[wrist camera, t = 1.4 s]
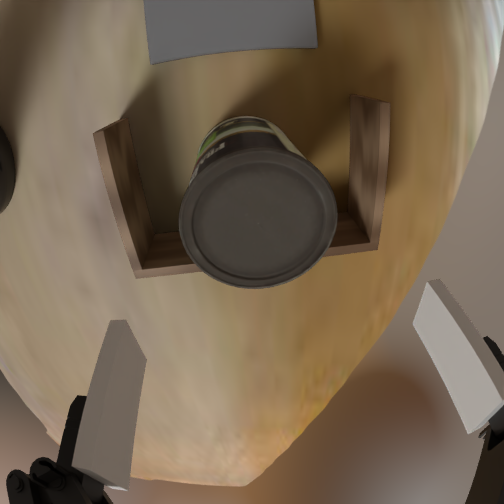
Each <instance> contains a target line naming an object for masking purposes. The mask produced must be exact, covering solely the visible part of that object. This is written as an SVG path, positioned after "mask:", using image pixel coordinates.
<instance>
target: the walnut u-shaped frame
mask: <svg viewBox="0 0 504 504" xmlns="http://www.w3.org/2000/svg"><path fill="white" fill-rule="evenodd" d="M389 135H390V103H389V102H385V101H381V100H377V99H373V98H369V97H365V96H361V95H350V170H349V193H348V210H347V212H344V213H337V214H338V217H337V226H336V231H335V234H334V237H333V240H332V242H331V244H330V246H329V248H328V250H327V251H326V253H325V254H324V255H323V257H326V256H334V255H342V254H350V253H357V252H365V251H373V250H378V244H379V238H380V231H381V224H382V216H383V208H384V199H385V190H386V179H387V168H388V154H389ZM93 137H94V141H95V146H96V150H97V154H98V158H99V162H100V166H101V170H102V174H103V178H104V182H105V185H106V189H107V192H108V196H109V199H110V203H111V206H112V209H113V213H114V216H115V219H116V222H117V226H118V229H119V232H120V235H121V238H122V241H123V244H124V247H125V250H126V253H127V255H128V258H129V261H130V264H131V267H132V269H133V272H134V275H135V277H136V279H138V278H147V277H156V276H165V275H175V274H184V273H193V272H201V271H202V270H201V269H200V268H198V267H197V266H196V264H195V263H194V262H193V261H192V260H191V258H190V257H189V255H188V254H187V252H186V250H185V248H184V246H183V243H182V240H181V237H180V231H176V232H169V233H161V234H155V233H154V230H153V226H152V222H151V219H150V215H149V211H148V207H147V203H146V199H145V195H144V191H143V187H142V183H141V179H140V174H139V170H138V165H137V161H136V156H135V152H134V147H133V142H132V137H131V132H130V127H129V121H128V118H125V119H121V120H118V121H116V122H114V123H112V124H110V125H108V126H106V127H104V128H102V129H100V130H98V131H96V132H95V133H93Z"/></svg>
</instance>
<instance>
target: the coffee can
mask: <svg viewBox="0 0 504 504" xmlns="http://www.w3.org/2000/svg"><path fill="white" fill-rule="evenodd" d="M337 217H338V214H337V204H336V200H335V196H334V193H333V191H332V189H331V186H330V184H329V183H328V181H327V180H326V178H325V177H324V175H323V174H322V173H321V172H320V171H319V170H318V169H317V168H316V167H315V166H314V165H313V164H312V163H311V162H310V161H308V160H307V159H306V158H305V157H304V156H303V155H302V153H300V151H299V150H298V149H297V148H296V147H295V146H294V145H293V144H292V143H291V141H290V140H289V139H288V138H287V137H286V135H285V134H284V133H283V132H282V130H281V129H279V128H278V127H277V126H276V125H274V124H273V123H271V122H269V121H267V120H265V119H262V118H258V117H253V116H240V117H235V118H231V119H228V120H225V121H223V122H222V123H220V124H218V125H217V126H215V127H214V128H213V129H212V130H211V131H210V132H209V133H208V134H207V135H206V137H205V138H204V140H203V142H202V143H201V145H200V148H199V151H198V156H197V160H196V164H195V167H194V170H193V173H192V177H191V180H190V183H189V187H188V189H187V191H186V193H185V195H184V198H183V201H182V204H181V208H180V212H179V231H180V237H181V240H182V243H183V246H184V248H185V250H186V252H187V254H188V255H189V257H190V258H191V260H192V261H193V262H194V263H195V264H196V266H197V267H198V268H200V269H201V270H202V271H203V272H204V273H206V274H207V275H208V276H210V277H211V278H213V279H215V280H217V281H219V282H222V283H224V284H227V285H230V286H234V287H239V288H247V289H262V288H270V287H274V286H278V285H281V284H285V283H287V282H290V281H292V280H294V279H296V278H298V277H299V276H301V275H303V274H304V273H306V272H307V271H308V270H310V269H311V268H312V267H313V266H314V265H315V264H316V263H317V262H318V261H319V260H320V259H321V258H322V257H323V255H324V254H325V253H326V251H327V250H328V248H329V246H330V244H331V242H332V240H333V237H334V234H335V231H336V226H337Z"/></svg>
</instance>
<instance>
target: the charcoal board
mask: <svg viewBox="0 0 504 504" xmlns="http://www.w3.org/2000/svg"><path fill="white" fill-rule="evenodd" d="M144 10H145V21H146V31H147V40H148V49H149V57H150V64H152V65H153V64H158V63H162V62H167V61H172V60H178V59H183V58H189V57H195V56H202V55H209V54H216V53H225V52H234V51H245V50H260V49H284V48H314V49H315V48H318V43H317V31H316V20H315V10H314V1H313V0H144Z"/></svg>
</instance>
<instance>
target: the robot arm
mask: <svg viewBox="0 0 504 504" xmlns="http://www.w3.org/2000/svg"><path fill="white" fill-rule="evenodd" d="M14 183H15V167H14V159H13V154H12V150H11V147H10V144H9V141H8V139H7V137H6V135H5V133H4V131H3V130H2V128H1V127H0V213H2V212H3V211H4V210H5V208H6V207H7V206H8V204H9V202H10V200H11V197H12V194H13V190H14ZM413 326H414V327H415V329H416V331H417V333H418V334H419V336H420V338H421V340H422V342H423V343H424V345H425V347H426V349H427V350H428V353H429V354H430V356H431V358H432V360H433V362H434V364H435V366H436V367H437V369H438V372H439V373H440V375H441V377H442V379H443V381H444V383H445V385H446V387H447V389H448V392H449V394H450V396H451V398H452V400H453V402H454V404H455V406H456V408H457V410H458V413H459V415H460V417H461V419H462V421H463V424H464V426H465V429H466V431H467V433H468V434H470V433H471V432H473V431H475V430H477V429H479V428H481V427H482V426H483V425H484V424H485V423H486V422H487V421H489V423H490V424H489V425H488V426H487V427H486V428H485V429H484V430H483V431H482V432H481V433H480V435H479V438H481V437H482V436H483V435H484V434H485V433H486V435H485V436H484V438H483V439H485V441H484V445H483V449H482V452H481V456H480V460H479V463H478V467H477V470H476V474H475V477H474V480H473V483H472V486H471V489H470V492H469V494H468V497H467V500H466V502H465V504H504V355H503V354H502V352H501V351H500V349H499V348H498V346H497V344H496V343H495V342H494V341H492V340H491V339H490V338H489V337H488V336H486V337H484V338H482V336H481V335H480V334H479V332H478V330H477V329H476V327H475V326H474V325H473V323H472V322H471V320H470V319H469V317H468V316H467V315H466V313H465V312H464V310H463V309H462V308H461V306H460V305H459V303H458V302H457V301H456V299H455V298H454V297H453V296H452V294H451V293H450V292H449V290H448V289H447V288H446V286H445V285H444V284H443V282H442V281H441V280H440V279H436V280H432V281H427V284H426V286H425V289H424V293H423V296H422V299H421V302H420V304H419V307H418V310H417V313H416V316H415V318H414V321H413ZM146 361H147V359H146V357H145V355H144V354H143V352H142V350H141V348H140V346H139V344H138V342H137V340H136V338H135V337H134V335H133V333H132V331H131V329H130V327H129V325H128V323H127V321H126V320H110V323H109V326H108V329H107V332H106V335H105V338H104V341H103V344H102V347H101V350H100V353H99V357H98V360H97V363H96V367H95V370H94V373H93V377H92V380H91V384H90V387H89V391H88V395H87V396H79V395H77V397H76V398H75V400H74V401H73V402H72V404H71V405H70V409H69V413H68V416H67V418H68V419H67V420H66V424H65V429H64V432H63V436H62V441H61V445H60V450H59V454H58V459H57V462H56V463H55V462H54V461H52V460H51V459H49V458H45V457H41V458H38V459H36V460H35V461H34V462H33V463H32V466H31V467H30V474H26V473H24V472H22V471H21V470H13V471H11V472H10V473H9V474H8V476H7V480H6V486H7V492H8V497H9V502H10V504H113V502H112V501H111V500H110V498H109V497H108V495H107V494H106V492H105V491H104V490H103V489H104V485H106V486H108V487H110V488H113V489H119V490H125V491H129V483H130V472H131V462H132V453H133V444H134V436H135V429H136V422H137V415H138V408H139V401H140V395H141V389H142V383H143V377H144V372H145V366H146Z"/></svg>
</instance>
